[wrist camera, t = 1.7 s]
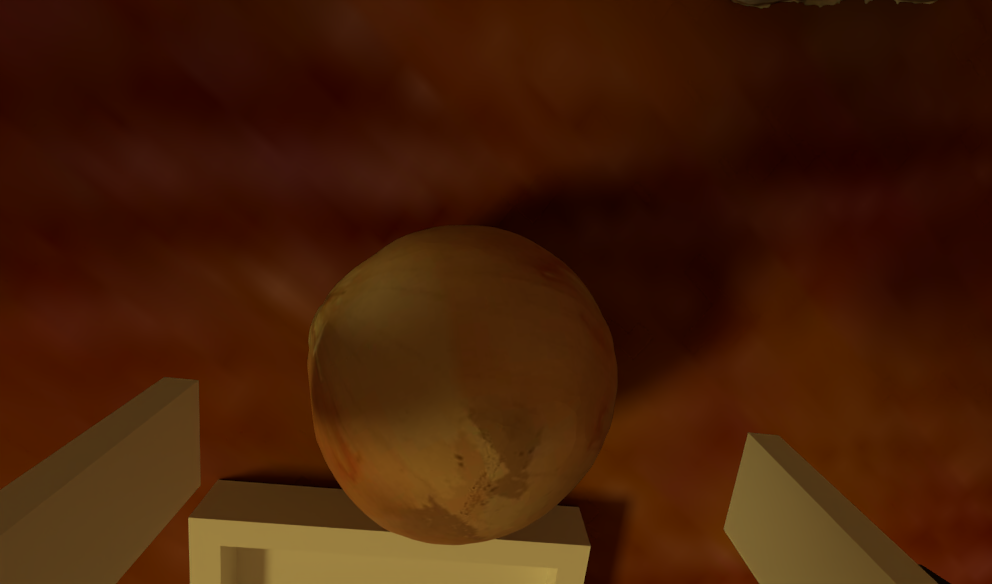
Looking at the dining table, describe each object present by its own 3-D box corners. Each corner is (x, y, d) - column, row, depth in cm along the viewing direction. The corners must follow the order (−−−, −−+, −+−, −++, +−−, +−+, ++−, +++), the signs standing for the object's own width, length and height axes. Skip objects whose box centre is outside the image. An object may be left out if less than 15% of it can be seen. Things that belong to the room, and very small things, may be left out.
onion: (379, 175, 20) (293, 192, 11) (619, 254, 21) (741, 334, 12) (319, 398, 22) (201, 583, 13) (540, 459, 24) (587, 670, 14)
